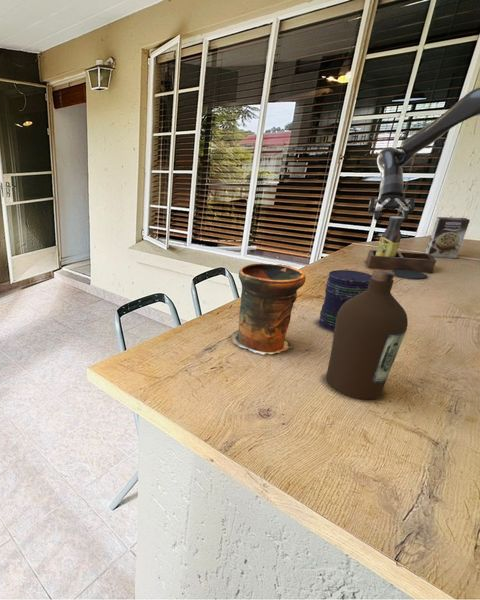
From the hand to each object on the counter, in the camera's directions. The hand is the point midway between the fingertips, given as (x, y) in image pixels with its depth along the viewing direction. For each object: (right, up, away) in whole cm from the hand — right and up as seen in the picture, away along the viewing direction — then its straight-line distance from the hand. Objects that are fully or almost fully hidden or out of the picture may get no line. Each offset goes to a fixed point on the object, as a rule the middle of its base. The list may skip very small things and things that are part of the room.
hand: (390, 220), depth 142 cm
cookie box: (+30, -14, +9) cm, 34 cm away
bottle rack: (+2, -19, -1) cm, 19 cm away
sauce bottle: (-2, -19, +1) cm, 19 cm away
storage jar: (-54, -40, -44) cm, 81 cm away
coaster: (-3, -23, -11) cm, 26 cm away
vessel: (-80, -44, -51) cm, 104 cm away
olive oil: (-70, -51, -69) cm, 111 cm away
